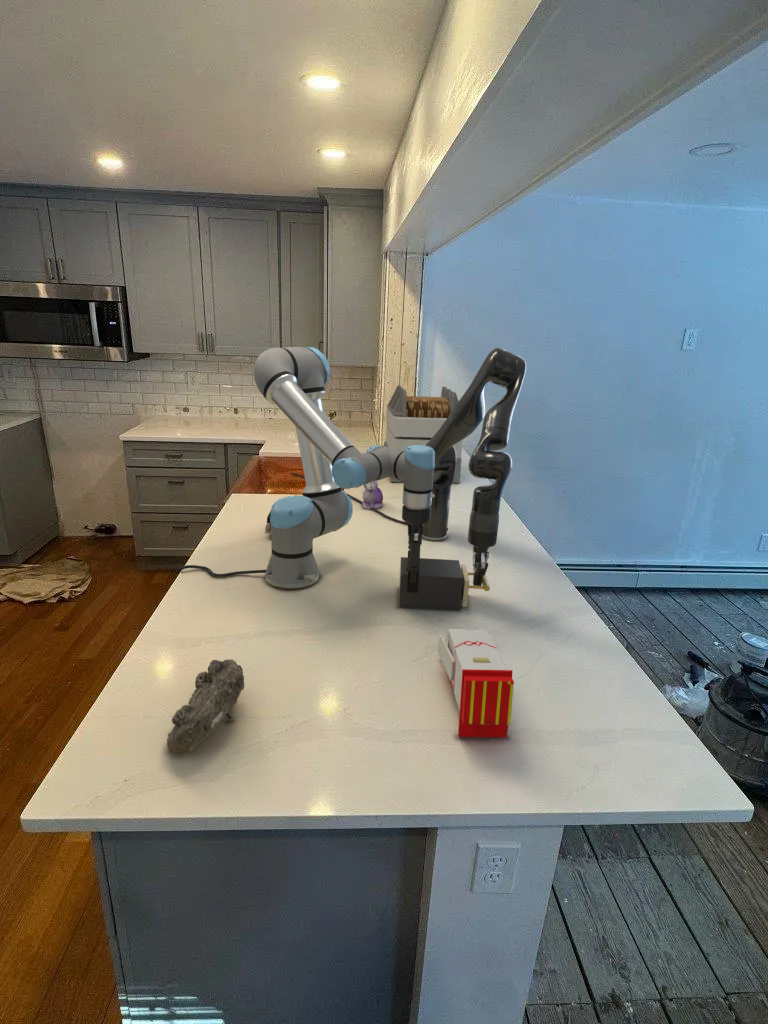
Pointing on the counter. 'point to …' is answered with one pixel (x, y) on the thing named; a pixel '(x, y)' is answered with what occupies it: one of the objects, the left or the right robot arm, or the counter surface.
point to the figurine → (372, 496)
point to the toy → (478, 682)
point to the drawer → (466, 585)
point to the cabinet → (432, 585)
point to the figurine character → (268, 524)
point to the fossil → (206, 705)
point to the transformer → (419, 421)
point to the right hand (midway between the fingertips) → (477, 585)
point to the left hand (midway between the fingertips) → (411, 581)
